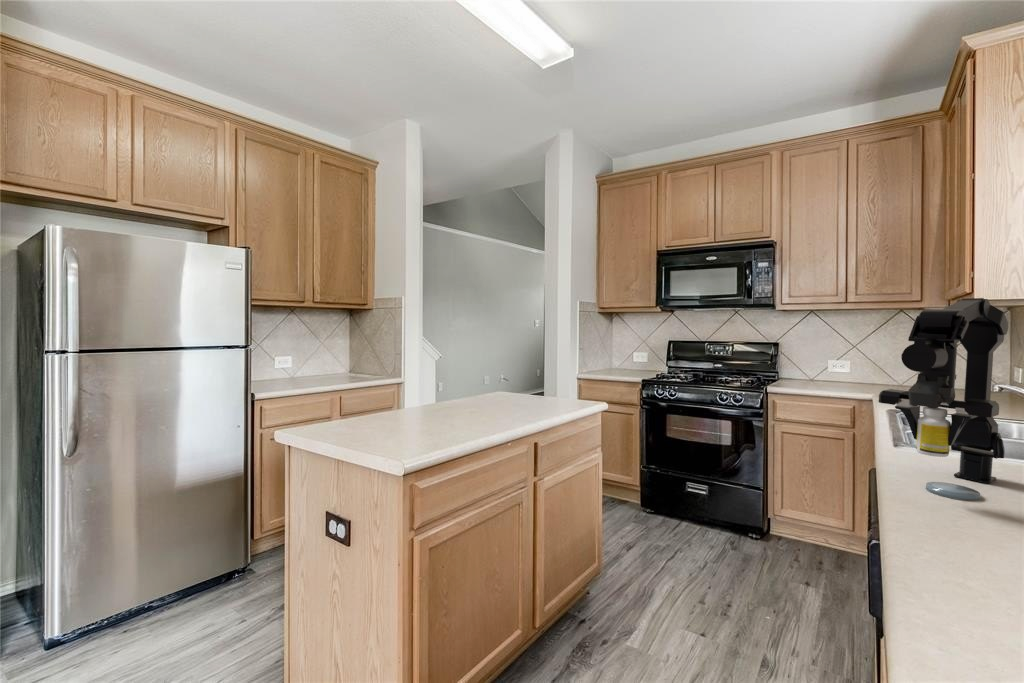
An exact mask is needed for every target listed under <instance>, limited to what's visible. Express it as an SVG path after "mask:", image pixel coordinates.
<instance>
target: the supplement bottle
mask: <svg viewBox="0 0 1024 683" xmlns="http://www.w3.org/2000/svg"><path fill="white" fill-rule="evenodd" d="M948 412H949V410H948V409H947V408H943V407H938V408H928V407H924V406H922V415H923V416H920V418H919V419H918V425H917V440H915V442H916V443H915V451H916V452H917V453H918V454H921V455H925V456H929V457H939V458H947V457H949V454H950V446H949V445H948V438H949V433H950V428H951V423H952V422H951V421H949V419H947V417H948Z"/></svg>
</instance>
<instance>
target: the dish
mask: <svg viewBox="0 0 1024 683" xmlns="http://www.w3.org/2000/svg"><path fill="white" fill-rule="evenodd" d="M925 489H926V491H928V492H930V493H931V494H934V495H938V496H941V497H944V498H949V499H953V500H958V501H971V502H973V501H974V502H975V501H980V499H981V492H979V491H978V490H975V489H973V488H970V487H969V486H968V487H967V486H964V485H960V484H955V483H950V482H943V481H942V482H940V481H929V482H926V483H925Z"/></svg>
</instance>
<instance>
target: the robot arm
mask: <svg viewBox="0 0 1024 683" xmlns="http://www.w3.org/2000/svg"><path fill="white" fill-rule="evenodd" d="M1008 330H1009V322H1008V319H1007V316H1006V314H1005V312H1004V311H1002V310H1001V309H1000V308H997V307H995V306H994V305H992V304H991V303H990V301H989V299H988V298H983V297H979V298H978V297H975V298H974V297H967V298H966V297H965V298H964V297H963V298H961V299H957V301H956V302H954V303H952V304H951V305H948V306H947V307H944V308H942V309H924V310H921V312H920V313H919V314H918V315H917V316H916V318H915V319H914V323H913V326H912V329H911V330H910V334H909V336H908V340H907V341H908V342H913V344H910V345H908V346H907V347H905V348H904V350H903V351H902V353H901V356H900V359H901V362H902V364H903V365H904V366H905V367H906V368H907V369H908V370H911V371H913V372H918V374H917V376H916V378H917V380H916V382H915V383H914V384H913V385H911V387H910V388H909V389H908V390H904V389H903V390H901V389H893V388H889V389H884V390H881V391H880V392H879V393H878V394H879V395H878V403H880V404H885V405H886V404H887V405H895V406H894V409H896V410H900V412H901V413H903V415H904V417H905V418H906V421H907V424H908V426H909V428H910V431H911V434H912V437H913V439H914V440H915V441H916V440H917V425H918V419H919V418H920V417H921V407H928V408H943V409H953V410H954V411H955V413H951V414H950V417H951V419H950V420H951V422H950V423H951V428H950V433H949V438H948V445H949V447H950V450H951V451H953V452H960V457H959V471H958V472H955V473H953V476H954V477H955V478H962V479H965V480H970V481H975V482H979V483H984V484H991V483H993V482H994V481H996V480H997V477H996V476H992V473H993V472H992V471H993V461H994V460H993V459H996V460H997V459H1005V445H1004V441H1003V439H1002V435H1001V433H1000V432H999V424H998V423H997V421H996V419H994V417H997V416H999V414H1000V404H999V403H998V402H997V401H996V400H991V394H992V378H993V364H994V352H995V351H996V350H997V349H998V348H999V347H1000V346H1001V345H1002V344H1003V343H1004V341H1005V336H1006V335H1007V334H1008ZM958 343H960V344H961V346H963V349H964V350H965V351H966V362H965V363H966V365H965V366H966V368H965V378H964V382H965V384H964V397H963V400H958V399H957V400H956V390H955V387H956V384H955V383H956V380H957V374H956V368H957V356H958V355H957V353H958V346H959V344H958Z"/></svg>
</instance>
